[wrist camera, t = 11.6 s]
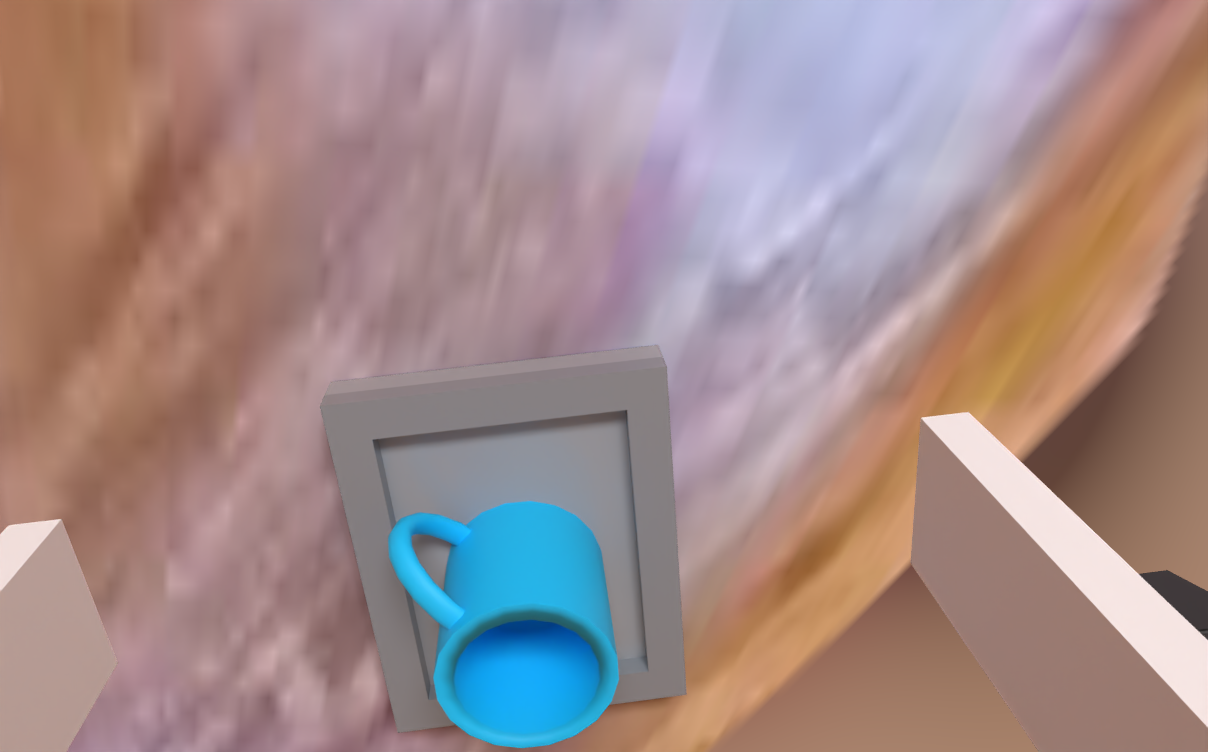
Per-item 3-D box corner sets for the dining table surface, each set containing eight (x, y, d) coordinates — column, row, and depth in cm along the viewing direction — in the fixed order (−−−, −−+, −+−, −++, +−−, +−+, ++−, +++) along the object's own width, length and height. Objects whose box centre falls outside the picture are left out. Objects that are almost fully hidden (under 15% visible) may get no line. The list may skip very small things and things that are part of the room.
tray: (403, 696, 52) (397, 732, 49) (330, 381, 43) (319, 406, 41) (678, 661, 52) (686, 694, 50) (658, 345, 44) (666, 366, 42)
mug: (634, 556, 47) (657, 664, 40) (535, 654, 49) (539, 774, 42) (452, 429, 43) (439, 522, 36) (352, 541, 45) (320, 651, 38)
